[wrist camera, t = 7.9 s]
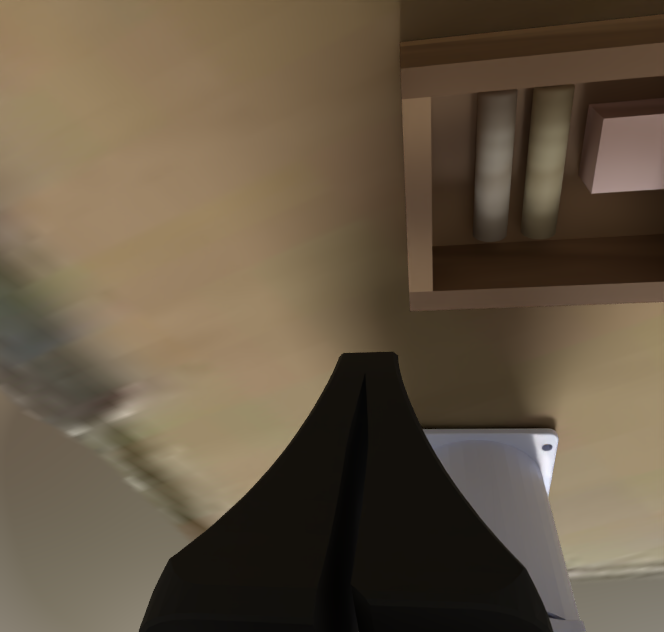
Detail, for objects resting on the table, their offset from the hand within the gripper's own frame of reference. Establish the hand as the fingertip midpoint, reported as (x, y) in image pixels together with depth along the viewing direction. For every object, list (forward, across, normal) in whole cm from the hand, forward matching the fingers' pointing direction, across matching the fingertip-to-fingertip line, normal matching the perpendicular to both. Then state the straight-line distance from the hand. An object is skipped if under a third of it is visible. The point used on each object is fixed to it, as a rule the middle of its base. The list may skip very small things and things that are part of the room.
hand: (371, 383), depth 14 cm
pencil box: (+10, -9, -2) cm, 14 cm away
